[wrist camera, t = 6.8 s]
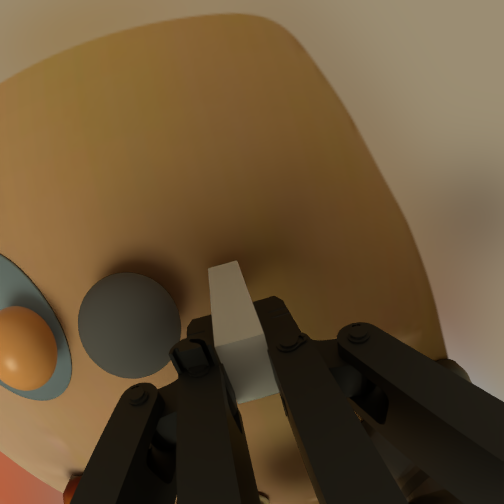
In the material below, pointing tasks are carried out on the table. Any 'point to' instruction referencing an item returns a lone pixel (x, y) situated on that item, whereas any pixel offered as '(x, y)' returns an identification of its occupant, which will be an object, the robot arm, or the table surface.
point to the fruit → (70, 488)
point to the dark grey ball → (129, 325)
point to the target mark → (28, 295)
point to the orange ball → (26, 349)
